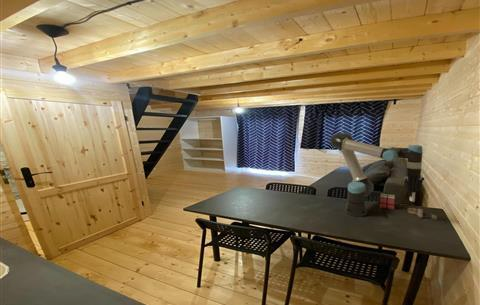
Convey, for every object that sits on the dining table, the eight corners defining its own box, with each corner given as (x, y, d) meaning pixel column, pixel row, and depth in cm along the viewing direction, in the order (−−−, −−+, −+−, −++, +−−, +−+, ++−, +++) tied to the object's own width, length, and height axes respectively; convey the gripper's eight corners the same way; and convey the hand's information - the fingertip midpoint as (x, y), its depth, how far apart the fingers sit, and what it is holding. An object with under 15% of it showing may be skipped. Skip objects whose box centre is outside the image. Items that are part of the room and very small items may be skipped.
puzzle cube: (394, 211, 162) (395, 199, 161) (379, 208, 168) (379, 196, 167) (394, 206, 170) (395, 195, 169) (379, 204, 176) (380, 193, 175)
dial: (405, 209, 160) (405, 202, 159) (419, 211, 157) (420, 203, 156) (412, 217, 147) (413, 209, 146) (428, 219, 144) (429, 210, 143)
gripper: (408, 169, 139) (406, 203, 142) (428, 168, 138) (426, 202, 141) (400, 167, 146) (398, 199, 149) (419, 166, 145) (417, 198, 149)
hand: (411, 200), depth 145 cm, fingers closed
